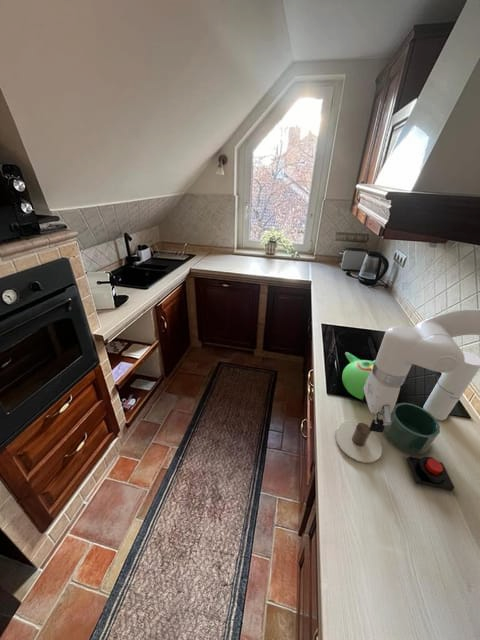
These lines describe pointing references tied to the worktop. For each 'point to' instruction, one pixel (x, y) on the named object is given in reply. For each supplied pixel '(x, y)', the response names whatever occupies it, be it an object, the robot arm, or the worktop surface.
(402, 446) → the jar
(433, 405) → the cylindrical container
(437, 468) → the button
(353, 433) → the lid
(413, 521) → the worktop surface
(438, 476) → the block
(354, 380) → the toy bird
